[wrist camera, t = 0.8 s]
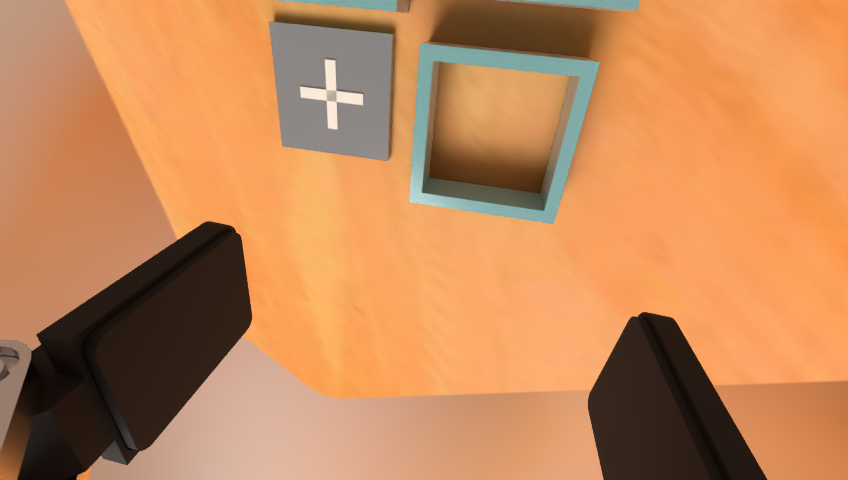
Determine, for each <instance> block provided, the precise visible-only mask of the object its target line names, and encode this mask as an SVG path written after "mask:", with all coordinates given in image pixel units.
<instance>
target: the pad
mask: <svg viewBox="0 0 848 480" xmlns="http://www.w3.org/2000/svg"><path fill="white" fill-rule="evenodd" d="M269 26H270V35H271V44H272V54H273V63H274V72H275V82H276V91H277V100H278V110H279V119H280V128H281V138H282V146H284V147H291V148H298V149H305V150H313V151H320V152H327V153H334V154H341V155H348V156H355V157H362V158H369V159H377V160H384V161H388V160H389V159H390V142H391V116H392V90H393V64H394V37H395V34H390V33H380V32H370V31H361V30H351V29H341V28H331V27H321V26H311V25H302V24H292V23H282V22H269Z"/></svg>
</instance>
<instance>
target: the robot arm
mask: <svg viewBox="0 0 848 480" xmlns="http://www.w3.org/2000/svg"><path fill="white" fill-rule="evenodd" d="M251 321H252V311H251V304H250V297H249V290H248V282H247V275H246V268H245V261H244V253H243V246H242V239H241V236H240V235H239V234H238V233H236V230H235V229H234V227H232V226H230V225H225V224H220V223H215V222H211V221H207V222H205V223H203V224H201V225H200V226H198V227H197V228H195V229H194V230H192V231H191V232H189V233H188V234H186V235H185V236H183V237H182V238H180V239H179V240H177V241H176V242H175V243H173V244H171V245H170V246H168V247H167V248H165V249H164V250H162V251H161V252H159V253H158V254H157V255H155V256H153V257H152V258H151V259H149V260H147V261H146V262H144V263H143V264H141V265H140V266H138V267H137V268H135V269H134V270H132V271H131V272H129V273H128V274H126V275H125V276H123V277H122V278H120V279H119V280H117V281H116V282H114V283H113V284H111V285H110V286H109V287H107V288H106V289H104V290H102V291H101V292H100V293H98V294H97V295H95V296H94V297H92V298H91V299H89V300H87V301H86V302H85V303H83V304H81V305H80V306H79V307H77V308H76V309H74V310H73V311H71V312H70V313H68V314H67V315H65V316H64V317H62V318H61V319H59V320H58V321H56V322H55V323H53V324H52V325H50V326H49V327H47V328H46V329H44V330H43V331H41V332H40V333H38V334H37V337H38V339H39V341H40V343H41V345H40V346H39V347H37V348H36V349H35V350H33V351H31V349H30V348H29V347H28V346H27V344H24V343H22V342H19V341H15V340H0V480H89V475H90V468H91V465H92V464H93V463H94V462H95V461H96V460H97V459H98V458H99V457H100V456H102V457H103V459H107V460H110V461H114V462H118V463H121V464H125V465H128V464H129V463H130V461H131V460H132V459H133V458H134V457H135V456H136V454H137V453H138V452H139V451H143V450H145V449H147V448H148V447H150V446H151V444H152V443H153V442H154V441H155V440H156V439H157V438H158V436H159V435H160V434H161V433H162V432H163V430H164V429H165V428H166V427H167V426H168V424H169V423H170V422H171V421H172V419H173V418H174V417H175V416H176V415H177V414H178V412H179V411H180V410H181V409H182V407H183V406H184V405H185V404H186V403H187V402H188V400H189V399H190V398H191V397H192V396H193V394H194V393H195V392H196V391H197V390H198V388H199V387H200V386H201V385H202V384H203V382H204V381H205V380H206V379H207V378H208V376H209V375H210V374H211V373H212V371H213V370H214V369H215V368H216V367H217V366H218V364H219V363H220V362H221V361H222V359H223V358H224V357H225V356H226V355H227V354H228V352H229V351H230V350H231V349H232V348H233V346H234V345H235V344H236V343H237V342H238V340H239V339H240V338H241V337H242V336H243V334H244V333H245V332H246V331H247V329H248V328H249V326H250V324H251ZM588 410H589V415H590V419H591V424H592V429H593V433H594V437H595V442H596V447H597V451H598V456H599V460H600V465H601V469H602V474H603V478H604V480H767V478H766V477H765V475H764V473H763V471H762V470H761V468H760V466H759V465H758V463H757V461H756V459H755V457H754V456H753V454H752V452H751V451H750V449H749V447H748V445H747V444H746V442H745V440H744V438H743V437H742V435H741V433H740V432H739V430H738V428H737V426H736V425H735V423H734V421H733V419H732V418H731V416H730V414H729V413H728V411H727V409H726V407H725V406H724V404H723V402H722V401H721V399H720V397H719V395H718V393H717V392H716V390H715V388H714V387H713V385H712V383H711V381H710V380H709V378H708V376H707V374H706V373H705V371H704V369H703V368H702V366H701V364H700V362H699V361H698V359H697V357H696V355H695V354H694V352H693V350H692V349H691V347H690V345H689V343H688V342H687V340H686V338H685V336H684V335H683V333H682V331H681V329H680V328H679V326H678V324H677V323H676V321H675V320H674V319H673V318H671V317H666V316H662V315H657V314H652V313H647V312H643V313H641V314H640V315H639V316H638V317H631V318H630V320H629V321H628V323H627V325H626V327H625V328H624V330H623V332H622V334H621V336H620V338H619V340H618V341H617V343H616V345H615V347H614V349H613V351H612V353H611V355H610V356H609V358H608V360H607V362H606V364H605V366H604V368H603V370H602V371H601V373H600V375H599V377H598V379H597V381H596V383H595V384H594V386H593V388H592V390H591V392H590V395H589V398H588Z"/></svg>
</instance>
